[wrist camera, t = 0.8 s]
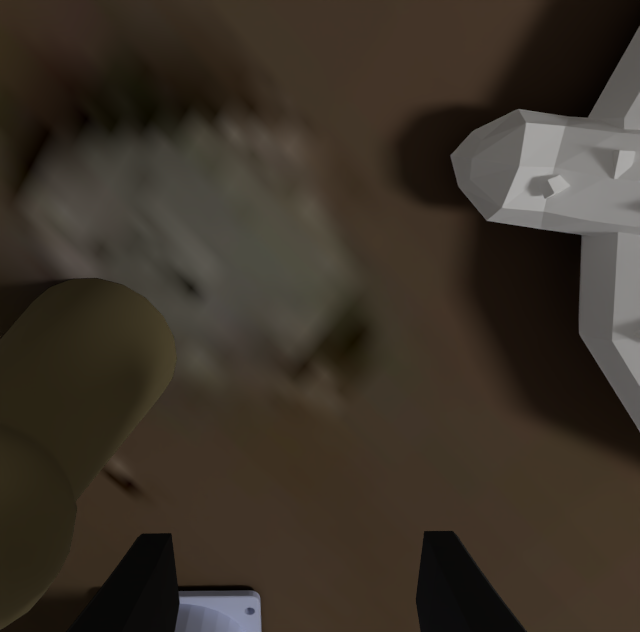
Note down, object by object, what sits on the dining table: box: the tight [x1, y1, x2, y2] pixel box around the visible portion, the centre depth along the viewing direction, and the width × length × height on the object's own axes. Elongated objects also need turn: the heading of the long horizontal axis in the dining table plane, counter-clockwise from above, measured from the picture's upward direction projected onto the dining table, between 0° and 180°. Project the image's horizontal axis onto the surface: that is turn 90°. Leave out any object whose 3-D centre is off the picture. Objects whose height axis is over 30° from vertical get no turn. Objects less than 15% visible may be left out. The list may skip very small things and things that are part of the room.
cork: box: [0, 278, 177, 630], centre depth 15 cm, size 6×6×11 cm
